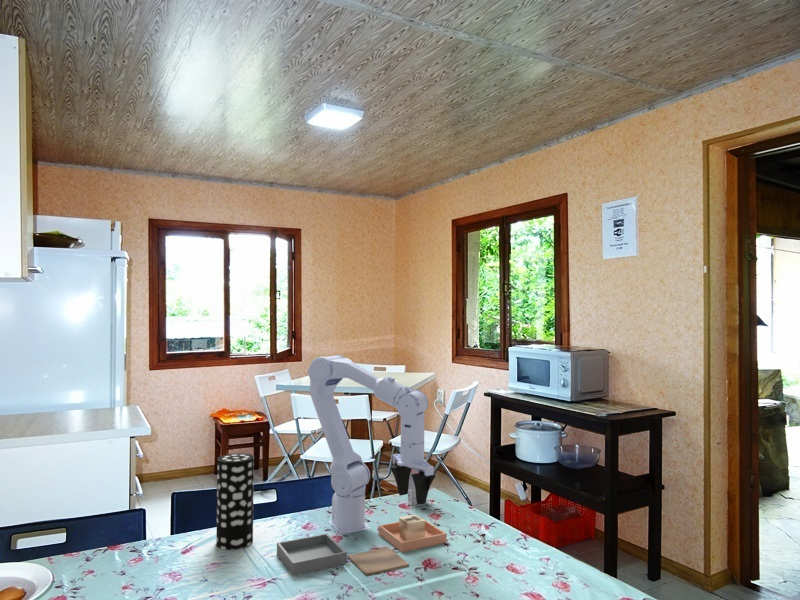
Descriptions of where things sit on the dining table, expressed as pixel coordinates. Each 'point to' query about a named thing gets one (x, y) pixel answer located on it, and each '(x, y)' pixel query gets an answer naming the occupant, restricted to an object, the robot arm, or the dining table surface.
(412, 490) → the energy drink
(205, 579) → the dining table surface
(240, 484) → the spotted tube
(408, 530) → the letter cube
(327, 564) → the charcoal tray
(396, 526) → the terracotta tray
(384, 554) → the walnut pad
